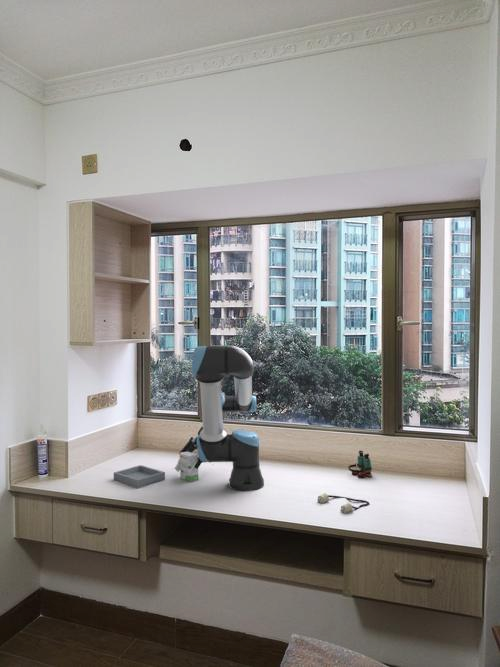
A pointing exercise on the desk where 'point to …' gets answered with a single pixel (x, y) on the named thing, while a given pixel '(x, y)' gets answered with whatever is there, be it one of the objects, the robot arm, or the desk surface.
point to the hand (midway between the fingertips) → (183, 472)
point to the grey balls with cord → (344, 508)
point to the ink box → (188, 466)
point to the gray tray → (139, 476)
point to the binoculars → (362, 466)
